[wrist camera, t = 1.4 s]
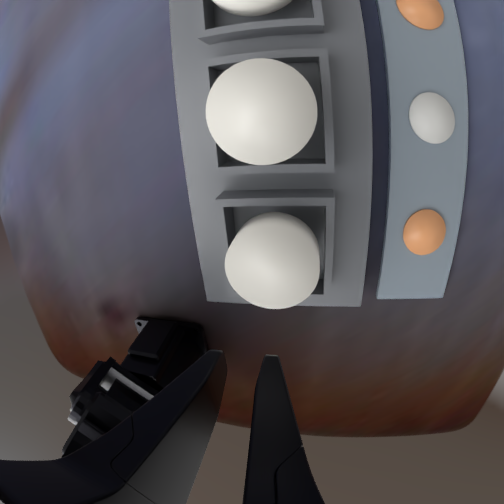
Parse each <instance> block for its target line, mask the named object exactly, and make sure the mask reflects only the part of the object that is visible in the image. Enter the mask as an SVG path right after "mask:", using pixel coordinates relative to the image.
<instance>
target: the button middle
mask: <svg viewBox="0 0 504 504" xmlns="http://www.w3.org/2000/svg"><path fill="white" fill-rule="evenodd" d="M206 120H207V125H208V128H209V131H210V133H211V135H212V137H213V139H214V140H215V142H216V143H217V144H218V145H219V147H220V148H221V149H222V150H223V151H224V152H226V153H227V154H228V155H230V156H231V157H233V158H235V159H237V160H239V161H242V162H245V163H248V164H254V165H271V164H276V163H279V162H282V161H285V160H287V159H289V158H291V157H292V156H294V155H295V154H297V153H298V152H299V151H300V150H301V149H302V148H303V147H304V146H305V145H306V144H307V143H308V141H309V139H310V138H311V136H312V134H313V132H314V129H315V126H316V122H317V102H316V98H315V95H314V92H313V90H312V88H311V86H310V85H309V83H308V81H307V80H306V79H305V78H304V77H303V76H302V75H301V74H300V73H299V72H298V71H297V70H296V69H294V68H293V67H291V66H289V65H287V64H285V63H283V62H280V61H277V60H273V59H266V58H255V59H249V60H245V61H242V62H239V63H237V64H235V65H233V66H231V67H230V68H228V69H227V70H226V71H224V72H223V73H222V74H221V75H220V76H219V77H218V78H217V80H216V81H215V83H214V84H213V86H212V88H211V90H210V92H209V95H208V98H207V102H206Z"/></svg>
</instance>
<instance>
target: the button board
mask: <svg viewBox="0 0 504 504" xmlns="http://www.w3.org/2000/svg"><path fill="white" fill-rule="evenodd" d="M169 12H170V30H171V45H172V58H173V70H174V81H175V92H176V102H177V111H178V120H179V128H180V137H181V145H182V152H183V160H184V167H185V174H186V181H187V188H188V195H189V201H190V208H191V214H192V220H193V226H194V232H195V238H196V244H197V249H198V255H199V260H200V266H201V271H202V276H203V282H204V287H205V292H206V297H207V301H212V302H228V303H246V304H252V303H250V302H248V301H246V300H245V299H243V298H242V297H241V296H240V295H239V294H238V293H237V292H236V291H235V290H234V289H233V287H232V286H231V285H230V283H229V281H228V278H227V276H226V272H225V257H226V253H227V251H228V248H229V247H230V245H231V243H232V241H233V240H234V238H235V236H236V235H237V233H238V231H239V230H240V228H241V227H242V226H243V225H244V224H245V223H246V222H247V221H248V220H249V219H251V218H253V217H255V216H257V215H259V214H262V213H267V212H281V213H286V214H290V215H292V216H295V217H297V218H298V219H300V220H302V221H303V222H304V223H305V224H307V225H308V227H309V228H310V229H311V230H312V231H313V233H314V235H315V236H316V239H317V241H318V245H319V256H320V274H319V279H318V283H317V285H316V287H315V289H314V291H313V292H312V293H311V294H310V296H309V297H307V298H306V299H305V300H304V301H302V302H301V303H299V304H297V305H295V306H350V307H361V301H362V294H363V287H364V279H365V271H366V262H367V252H368V241H369V229H370V215H371V197H372V157H373V146H372V108H371V90H370V77H369V65H368V56H367V47H366V39H365V31H364V25H363V18H362V12H361V6H360V1H359V0H292V1H291V2H290V3H289V4H287V5H286V6H285V7H283V8H281V9H279V10H277V11H275V12H272V13H269V14H265V15H260V16H240V15H235V14H232V13H229V12H227V11H225V10H223V9H221V8H220V7H218V6H217V5H216V4H215V3H214V2H213V1H212V0H169ZM255 58H266V59H273V60H277V61H280V62H283V63H285V64H287V65H289V66H291V67H293V68H294V69H296V70H297V71H298V72H299V73H300V74H301V75H302V76H303V77H304V78H305V79H306V80H307V81H308V83H309V85H310V86H311V88H312V90H313V92H314V95H315V98H316V102H317V122H316V126H315V129H314V132H313V134H312V136H311V138H310V139H309V141H308V143H307V144H306V145H305V146H304V147H303V148H302V149H301V150H300V151H299V152H298V153H297V154H295V155H294V156H292V157H291V158H289V159H287V160H285V161H282V162H279V163H276V164H271V165H254V164H248V163H245V162H242V161H239V160H237V159H235V158H233V157H231V156H230V155H228V154H227V153H226V152H224V151H223V150H222V149H221V148H220V147H219V145H218V144H217V143H216V142H215V140H214V139H213V137H212V135H211V133H210V131H209V128H208V125H207V120H206V102H207V98H208V95H209V92H210V90H211V88H212V86H213V84H214V83H215V81H216V80H217V78H218V77H219V76H220V75H221V74H222V73H223V72H224V71H226V70H227V69H228V68H230V67H231V66H233V65H235V64H237V63H239V62H242V61H245V60H249V59H255Z"/></svg>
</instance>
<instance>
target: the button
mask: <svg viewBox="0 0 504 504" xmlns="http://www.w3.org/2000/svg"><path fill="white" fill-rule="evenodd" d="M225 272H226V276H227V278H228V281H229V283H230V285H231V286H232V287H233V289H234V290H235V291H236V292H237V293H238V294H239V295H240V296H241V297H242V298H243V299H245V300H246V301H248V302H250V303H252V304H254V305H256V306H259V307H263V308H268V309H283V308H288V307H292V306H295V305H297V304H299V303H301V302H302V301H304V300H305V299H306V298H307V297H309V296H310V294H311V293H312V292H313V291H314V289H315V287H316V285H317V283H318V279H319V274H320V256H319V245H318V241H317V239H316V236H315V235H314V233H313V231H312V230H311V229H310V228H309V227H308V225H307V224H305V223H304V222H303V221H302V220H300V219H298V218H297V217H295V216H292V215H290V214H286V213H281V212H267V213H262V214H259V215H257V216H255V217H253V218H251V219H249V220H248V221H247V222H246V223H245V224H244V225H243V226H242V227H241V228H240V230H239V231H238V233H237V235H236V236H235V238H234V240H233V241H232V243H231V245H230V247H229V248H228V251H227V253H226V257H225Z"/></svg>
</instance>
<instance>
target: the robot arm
mask: <svg viewBox="0 0 504 504" xmlns="http://www.w3.org/2000/svg"><path fill="white" fill-rule="evenodd" d="M135 325H136V327H137V330H138V332H139V335H138V336H137V338H136V339H135V341H134V342H133V343H132V345H131V346H130V348H129V349H128V355H127V356H126V358H125V359H124V361H123V362H122V364H121V365H119V364H118V363H117V362H116V360H114V359H113V358H112V357H110V358H109V359H108V360H107V362H103V361H98V362H97V363H96V364H95V366H94V367H93V368H92V370H91V371H90V372H89V374H88V375H87V376H86V377H85V378H84V379H83V381H82V382H81V383H80V384H79V385H78V386H77V387H76V388H75V389H74V391H73V392H72V393H71V395H70V401H71V404H72V407H71V409H70V411H71V413H70V415H69V417H68V420H69V421H70V422H72V423H73V424H75V425H76V426H75V428H74V430H73V432H72V433H71V435H70V436H69V438H68V440H67V441H66V443H65V445H64V447H63V449H62V453H63V456H62V458H60V459H56V460H48V461H14V460H0V504H186V502H187V499H188V497H189V494H190V491H191V489H192V486H193V483H194V480H195V478H196V475H197V473H198V470H199V467H200V465H201V462H202V459H203V456H204V454H205V451H206V448H207V445H208V442H209V440H210V437H211V434H212V432H213V429H214V426H215V423H216V420H217V417H218V414H219V409H220V405H221V400H222V395H223V391H224V386H225V381H226V376H227V365H226V360H225V356H224V352H223V351H221V350H209V351H208V348H207V344H206V340H205V336H204V331H203V328H202V327H201V326H200V325H199V324H194V323H185V322H176V321H167V320H159V319H151V318H144V317H138V318H137V319H136V320H135ZM195 329H196V330H195ZM197 330H198V331H197ZM243 504H325V503H324V501H323V498H322V496H321V494H320V492H319V490H318V488H317V485H316V483H315V481H314V478H313V476H312V473H311V470H310V467H309V464H308V461H307V458H306V454H305V450H304V447H303V443H302V440H301V436H300V432H299V429H298V425H297V421H296V418H295V414H294V410H293V407H292V403H291V399H290V396H289V392H288V388H287V384H286V381H285V377H284V373H283V370H282V366H281V362H280V359H279V356H278V355H265V357H264V359H263V363H262V366H261V370H260V373H259V376H258V380H257V383H256V387H255V394H254V404H253V414H252V423H251V433H250V442H249V452H248V461H247V470H246V479H245V487H244V495H243Z"/></svg>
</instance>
